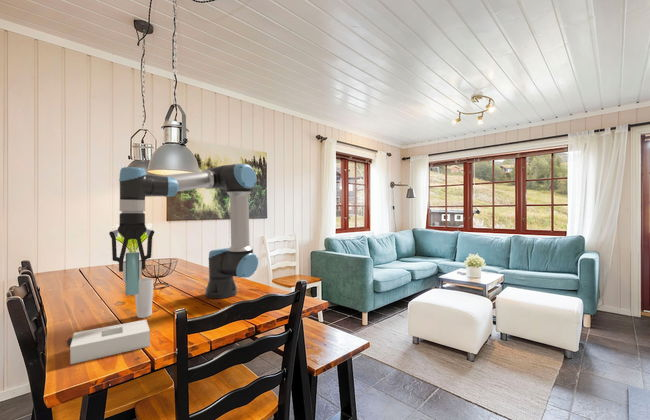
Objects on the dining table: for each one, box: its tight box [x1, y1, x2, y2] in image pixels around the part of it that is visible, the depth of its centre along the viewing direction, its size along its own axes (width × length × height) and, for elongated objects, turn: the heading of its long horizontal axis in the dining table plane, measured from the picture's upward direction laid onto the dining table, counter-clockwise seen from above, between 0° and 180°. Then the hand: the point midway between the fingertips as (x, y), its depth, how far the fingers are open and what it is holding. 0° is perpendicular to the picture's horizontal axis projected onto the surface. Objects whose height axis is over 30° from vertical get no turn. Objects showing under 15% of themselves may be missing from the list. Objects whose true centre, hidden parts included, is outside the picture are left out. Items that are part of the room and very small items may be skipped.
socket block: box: [69, 319, 151, 365], centre depth 100 cm, size 20×12×5 cm, turn 125°
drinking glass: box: [134, 277, 154, 319], centre depth 128 cm, size 7×7×15 cm
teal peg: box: [124, 251, 140, 296], centre depth 108 cm, size 4×4×14 cm
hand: (132, 279), depth 108 cm, fingers closed on teal peg, 4 cm apart
